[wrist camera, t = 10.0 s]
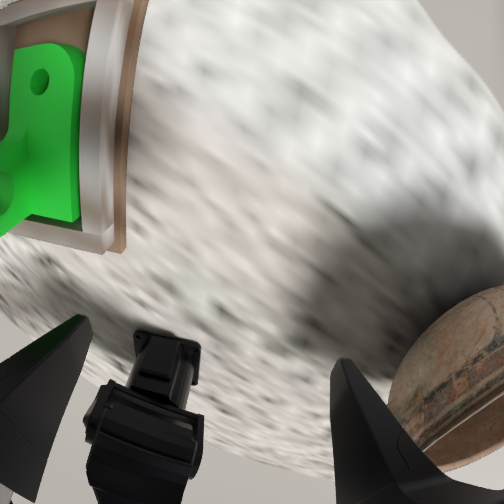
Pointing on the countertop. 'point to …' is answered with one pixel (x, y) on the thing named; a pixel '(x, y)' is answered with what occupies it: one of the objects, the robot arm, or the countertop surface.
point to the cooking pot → (455, 383)
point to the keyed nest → (84, 107)
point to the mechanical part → (42, 136)
